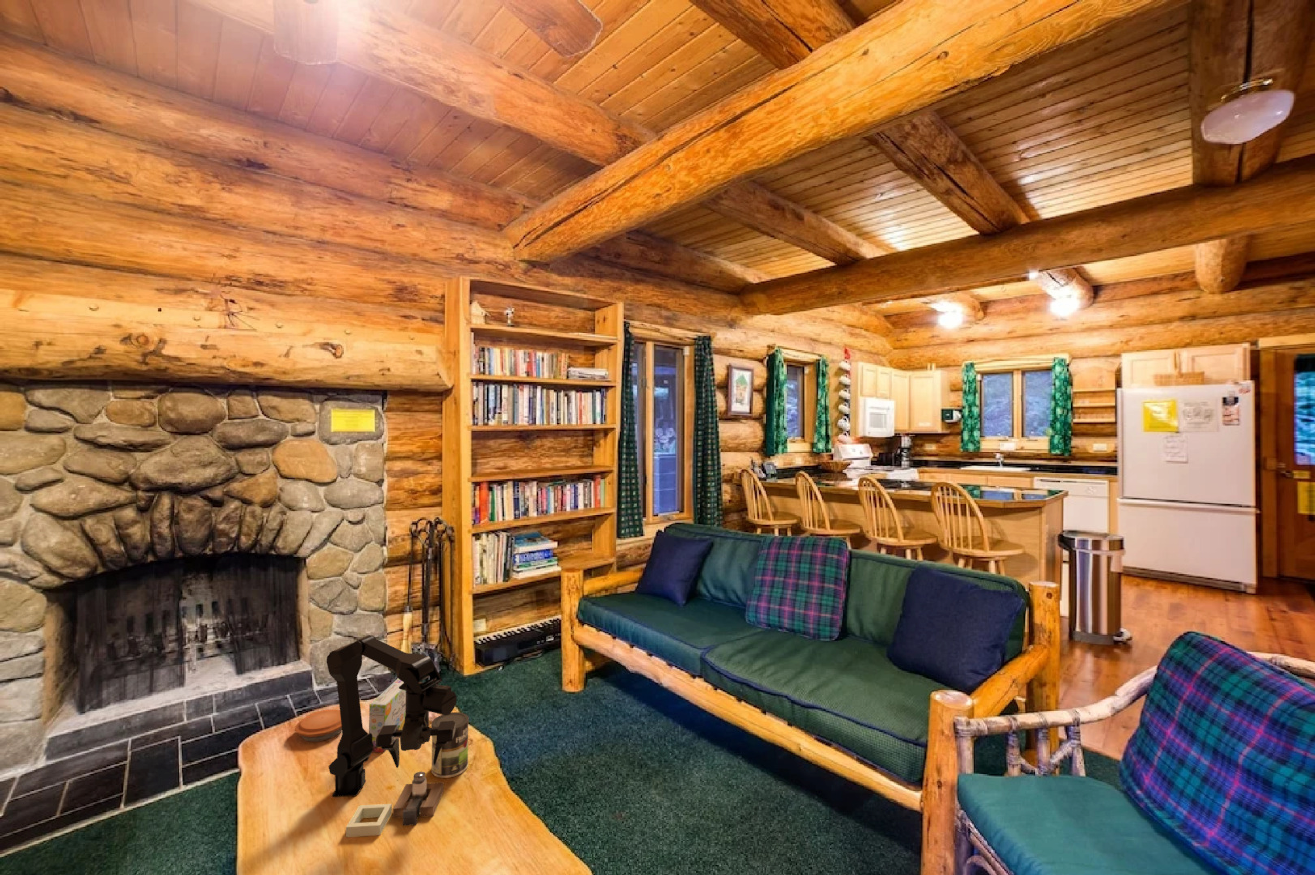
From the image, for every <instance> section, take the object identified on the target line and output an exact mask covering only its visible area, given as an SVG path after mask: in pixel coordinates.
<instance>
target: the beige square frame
mask: <svg viewBox="0 0 1315 875" xmlns="http://www.w3.org/2000/svg"><path fill="white" fill-rule="evenodd" d="M392 804H393V803H382V804H381V803H380V804H378V803H376V804H363V805H362V804H361V805H358V807H357V809H356V810H355V812H354V814H353V816H352V817H351V818H350V820H349V822H347V825H346V826H345V837H346V838H356V837H358V838H359V837H373V836H374V837H375V836H381V834H382V832H383V831H384V829H385V827H386V825H387V823H388V821H389V820H390V818H391V815H393V808H392V807H393V806H392ZM365 818H368V819H369V818H378V819H377V821H371V822H370V821H368V822H361V821H362V820H363V819H365Z"/></svg>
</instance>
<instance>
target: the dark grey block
mask: <svg viewBox="0 0 1315 875" xmlns="http://www.w3.org/2000/svg"><path fill="white" fill-rule="evenodd" d="M420 807H421V798H419V799H410V801H409V803H408V805H407V807H406V809H404V811H403V818H402V826H416V825H417V823H418V818H419V816H420Z"/></svg>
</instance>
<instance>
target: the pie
mask: <svg viewBox="0 0 1315 875" xmlns="http://www.w3.org/2000/svg"><path fill="white" fill-rule="evenodd" d="M294 732H295V733H296V734H297V735H299V736H301V738H302V739H303V740H304V741H306V742H312V743H316V742H322V741H325V740H329V739H332V738H334V737H336V736H337V735H339V734H340V733H342V725H341V716H340V709H336V708H335V709H334V708H333V709H325V710H320V711H316V712H313V713H310V714H309V715H307V716H305V717H304V718H303V719H301V720H299V721H298V722H297V723H296V725H295V726H294Z"/></svg>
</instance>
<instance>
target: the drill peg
mask: <svg viewBox="0 0 1315 875" xmlns="http://www.w3.org/2000/svg"><path fill="white" fill-rule="evenodd" d="M427 779H428V778H427V777H426V772H425V771H418V772H415V773H414V774H413V780H412V781H411V784H412V799H419V798H421V805H422V802H423V801H426V800H427V798H426V795H427V783H428V781H427Z"/></svg>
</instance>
